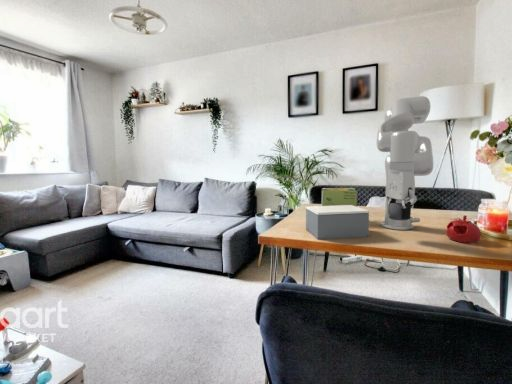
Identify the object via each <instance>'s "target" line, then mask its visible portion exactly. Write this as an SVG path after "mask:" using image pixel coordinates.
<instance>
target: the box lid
mask: <svg viewBox="0 0 512 384" xmlns="http://www.w3.org/2000/svg"><path fill="white" fill-rule="evenodd" d="M306 209H308V210H310V211H312V212H313V213H315V214H317V215H329V214H354V213H369V214H370V210H367V209H364V208H363V207H359V206H357V207H356V206H353V205H337V206H322V205H317V206H316V205H314V206H311V205H310V206H305V210H306Z"/></svg>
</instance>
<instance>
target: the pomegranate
mask: <svg viewBox="0 0 512 384" xmlns="http://www.w3.org/2000/svg"><path fill="white" fill-rule="evenodd" d="M467 217H468V216H467V215H463V216H462V219H461V218H460V217H456V218H454V219H452V218H451V219H450V220H451V221H449V223H447V225H446V236H447V238H448V239H449V240H452V241H454V242H458V243H463V244H474V243H477V242H478V241H480V239H481V237H482V232H481V230H480V227H478V225H477V224H476V223H473V222H478V220H475V219H473V220H467Z"/></svg>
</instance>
